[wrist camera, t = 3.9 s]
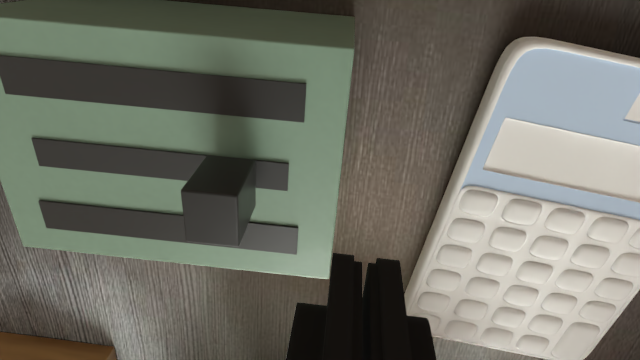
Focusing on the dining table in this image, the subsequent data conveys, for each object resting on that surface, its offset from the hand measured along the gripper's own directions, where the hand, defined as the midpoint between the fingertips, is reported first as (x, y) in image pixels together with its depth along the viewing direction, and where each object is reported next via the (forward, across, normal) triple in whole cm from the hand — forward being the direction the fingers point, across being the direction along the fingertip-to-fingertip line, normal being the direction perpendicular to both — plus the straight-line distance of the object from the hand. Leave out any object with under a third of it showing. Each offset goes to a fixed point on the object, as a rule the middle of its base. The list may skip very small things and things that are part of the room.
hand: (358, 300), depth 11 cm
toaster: (+14, +8, 0) cm, 16 cm away
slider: (+6, +5, 0) cm, 8 cm away
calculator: (+14, -12, +5) cm, 19 cm away
